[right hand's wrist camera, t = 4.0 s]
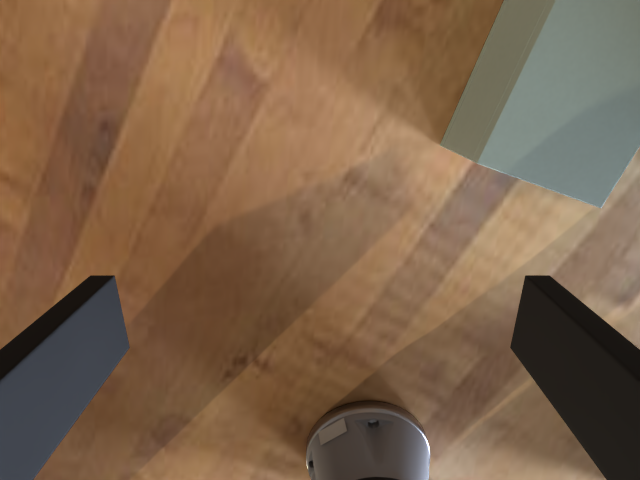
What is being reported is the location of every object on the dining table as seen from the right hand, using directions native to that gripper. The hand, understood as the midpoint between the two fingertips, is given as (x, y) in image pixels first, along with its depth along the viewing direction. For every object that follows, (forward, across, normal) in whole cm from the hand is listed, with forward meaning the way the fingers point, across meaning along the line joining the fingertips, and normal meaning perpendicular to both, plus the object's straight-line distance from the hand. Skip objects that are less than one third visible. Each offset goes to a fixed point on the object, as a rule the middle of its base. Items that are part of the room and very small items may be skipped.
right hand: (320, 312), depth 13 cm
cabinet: (+26, -19, -10) cm, 34 cm away
